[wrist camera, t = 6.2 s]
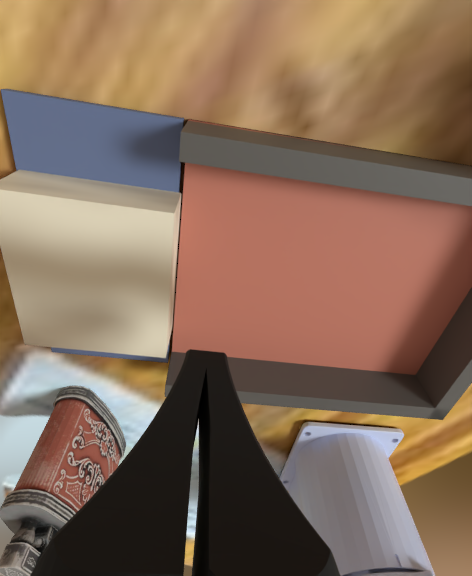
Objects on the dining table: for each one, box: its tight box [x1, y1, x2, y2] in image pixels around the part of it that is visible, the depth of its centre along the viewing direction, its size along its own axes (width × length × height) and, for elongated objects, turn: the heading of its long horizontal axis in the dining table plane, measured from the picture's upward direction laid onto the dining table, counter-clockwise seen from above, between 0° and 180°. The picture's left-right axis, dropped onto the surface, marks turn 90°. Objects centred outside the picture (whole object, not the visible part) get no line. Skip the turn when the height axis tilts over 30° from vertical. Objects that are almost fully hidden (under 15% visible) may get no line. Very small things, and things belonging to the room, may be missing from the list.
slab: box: [0, 170, 181, 358], centre depth 16 cm, size 8×7×2 cm
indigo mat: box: [1, 89, 184, 363], centre depth 18 cm, size 14×7×1 cm, turn 171°
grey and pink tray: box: [165, 119, 472, 420], centre depth 18 cm, size 14×17×3 cm
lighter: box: [0, 386, 126, 576], centre depth 21 cm, size 8×3×10 cm, turn 10°
